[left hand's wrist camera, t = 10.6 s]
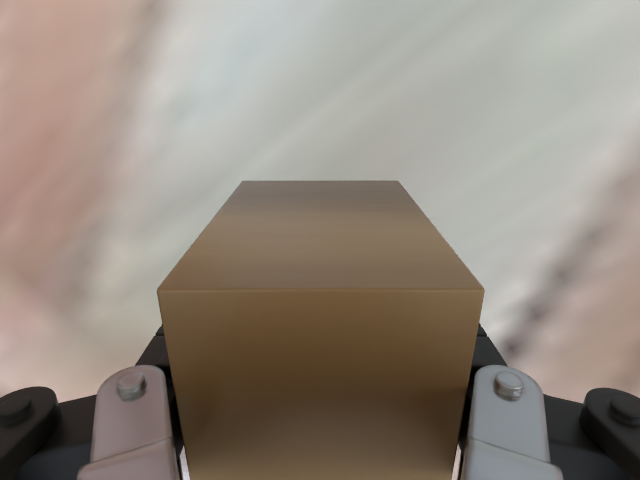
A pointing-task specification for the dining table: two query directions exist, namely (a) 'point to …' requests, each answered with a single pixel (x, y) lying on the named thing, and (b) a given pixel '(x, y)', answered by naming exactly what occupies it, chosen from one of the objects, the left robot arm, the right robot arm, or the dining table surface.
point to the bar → (320, 336)
